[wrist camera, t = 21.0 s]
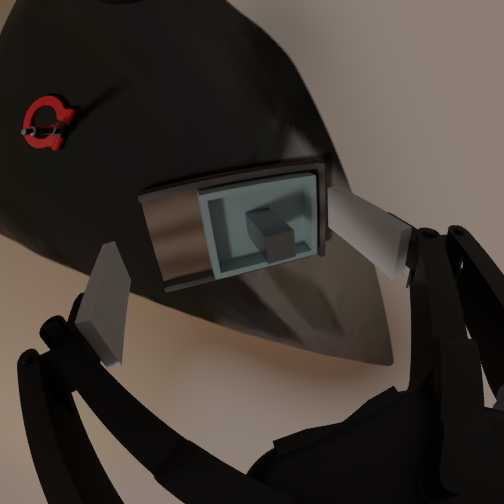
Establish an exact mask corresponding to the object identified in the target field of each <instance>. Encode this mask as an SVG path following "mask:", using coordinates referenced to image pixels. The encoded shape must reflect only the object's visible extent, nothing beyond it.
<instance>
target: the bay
mask: <svg viewBox="0 0 504 504" xmlns="http://www.w3.org/2000/svg"><path fill="white" fill-rule="evenodd" d="M297 171H307V172H309V173H312V174H314V175H316V195H317V254H318V255H319V256H320V257H321V256H325V166H324V163H322V162H319V161H315V160H305V161H296V162H288V163H281V164H274V165H267V166H260V167H254V168H248V169H242V170H236V171H230V172H225V173H219V174H214V175H209V176H204V177H199V178H194V179H190V180H185V181H180V182H176V183H172V184H167V185H163V186H159V187H155V188H151V189H147V190H143V191H140V192H139V194H138V200H139V202H141V203H142V207H143V211H144V215H145V219H146V222H147V226H148V230H149V233H150V237H151V240H152V244H153V247H154V251H155V254H156V257H157V261H158V264H159V267H160V270H161V273H162V276H163V279H164V288H165V291H166V292H170V291H174V290H178V289H182V288H187V287H191V286H195V285H199V284H203V283H207V282H211V281H215V280H216V279H215V276H214V273H213V270H212V266H211V262H210V257H209V252H208V247H207V242H206V237H205V232H204V227H203V222H202V217H201V212H200V207H199V201H198V196H197V190H196V189H200V188H205V187H209V186H214V185H219V184H225V183H230V182H235V181H241V180H246V179H252V178H258V177H264V176H270V175H277V174H283V173H290V172H297ZM317 254H315V255H317ZM311 256H313V255H311ZM307 257H309V256H307ZM303 258H306V257H303ZM299 259H302V258H299ZM296 260H298V259H296ZM292 261H294V260H292ZM288 262H290V261H288ZM284 263H287V262H284ZM280 264H283V263H280ZM276 265H279V264H276ZM273 266H275V265H273ZM269 267H271V266H269ZM265 268H267V267H265ZM261 269H263V268H261ZM257 270H259V269H257ZM253 271H255V270H253ZM249 272H251V271H249ZM245 273H248V272H245ZM241 274H244V273H241ZM237 275H240V274H237ZM233 276H236V275H233ZM229 277H232V276H229ZM225 278H228V277H225ZM221 279H224V278H221ZM217 280H220V279H217Z"/></svg>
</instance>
